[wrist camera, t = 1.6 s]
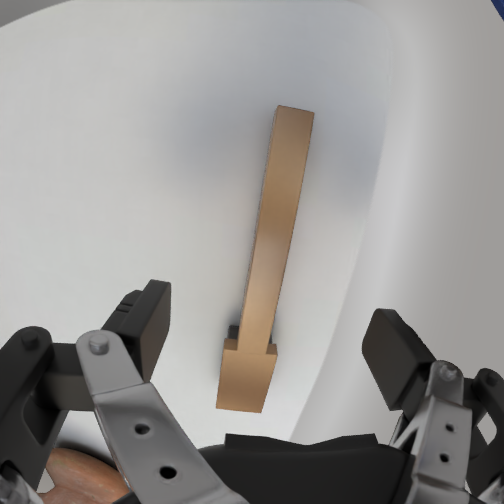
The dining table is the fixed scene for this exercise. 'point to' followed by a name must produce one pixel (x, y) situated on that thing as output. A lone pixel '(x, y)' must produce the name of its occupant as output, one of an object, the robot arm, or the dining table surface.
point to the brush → (266, 266)
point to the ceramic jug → (81, 479)
